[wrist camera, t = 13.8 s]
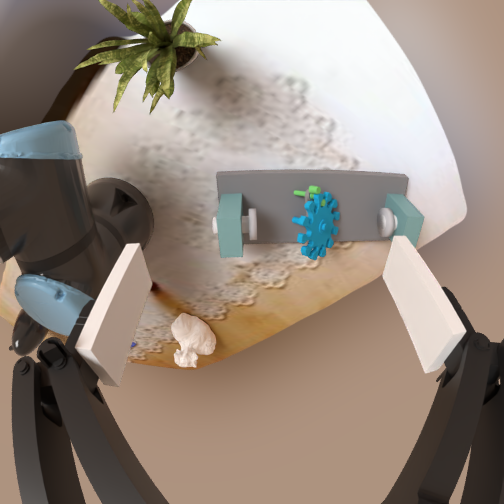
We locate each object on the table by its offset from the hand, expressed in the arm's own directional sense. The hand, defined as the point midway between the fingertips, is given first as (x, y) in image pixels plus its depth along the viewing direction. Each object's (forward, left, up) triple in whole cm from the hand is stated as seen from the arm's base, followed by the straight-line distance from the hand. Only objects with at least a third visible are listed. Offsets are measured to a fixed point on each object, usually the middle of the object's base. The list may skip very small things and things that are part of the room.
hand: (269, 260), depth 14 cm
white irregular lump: (-15, -40, -29) cm, 52 cm away
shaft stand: (+9, -12, -29) cm, 32 cm away
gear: (+8, -12, -27) cm, 31 cm away
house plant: (-11, +14, -29) cm, 34 cm away
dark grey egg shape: (-62, -39, -29) cm, 79 cm away
